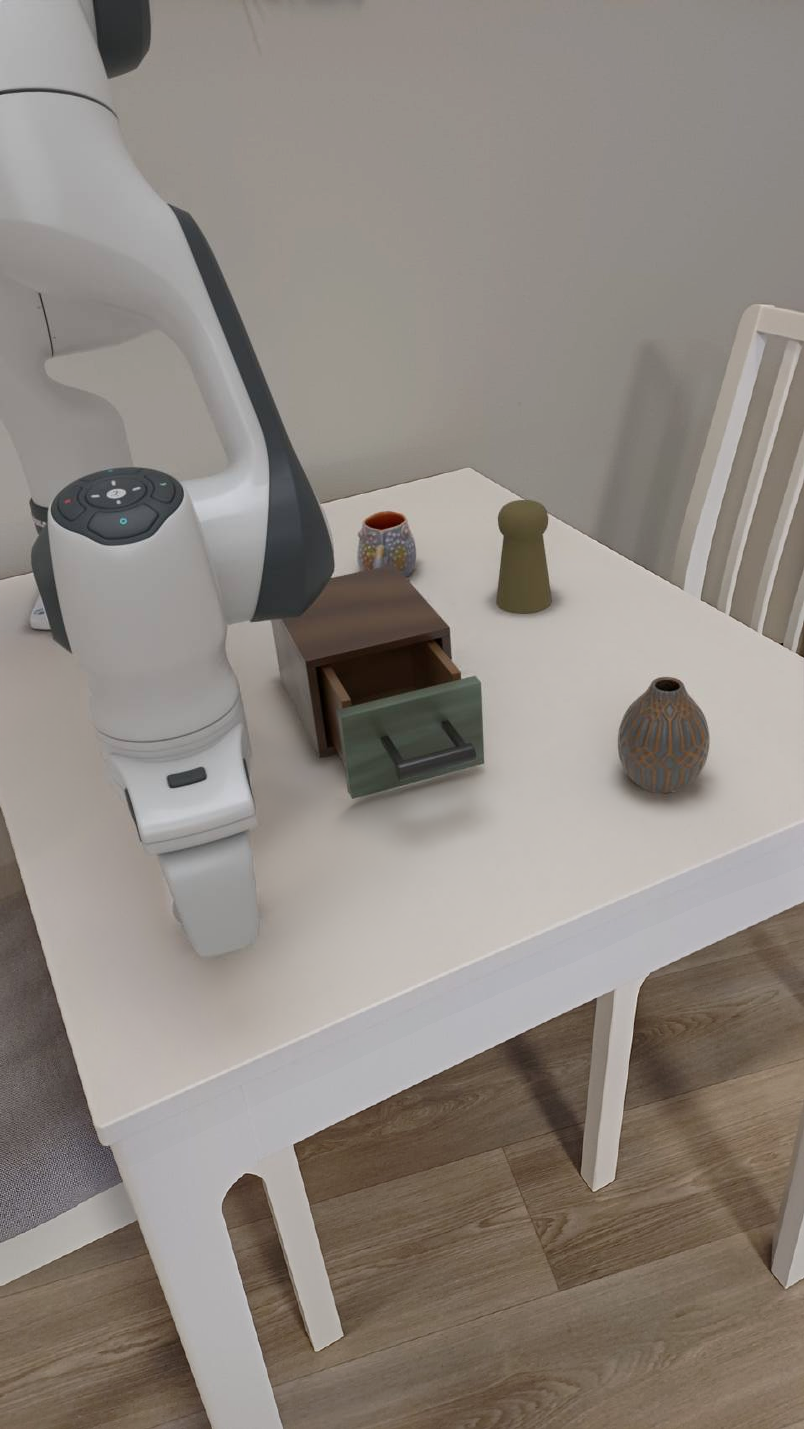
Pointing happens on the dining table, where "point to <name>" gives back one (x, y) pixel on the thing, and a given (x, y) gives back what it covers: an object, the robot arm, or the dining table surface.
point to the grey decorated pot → (386, 543)
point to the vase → (663, 738)
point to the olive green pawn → (523, 558)
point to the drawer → (401, 717)
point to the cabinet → (350, 635)
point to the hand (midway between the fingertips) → (216, 908)
